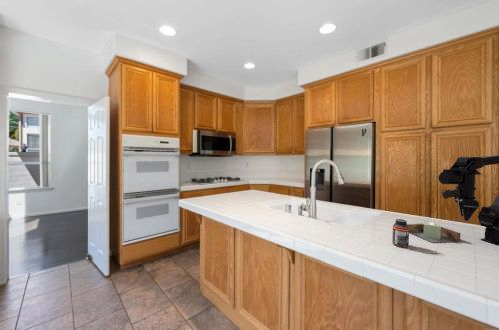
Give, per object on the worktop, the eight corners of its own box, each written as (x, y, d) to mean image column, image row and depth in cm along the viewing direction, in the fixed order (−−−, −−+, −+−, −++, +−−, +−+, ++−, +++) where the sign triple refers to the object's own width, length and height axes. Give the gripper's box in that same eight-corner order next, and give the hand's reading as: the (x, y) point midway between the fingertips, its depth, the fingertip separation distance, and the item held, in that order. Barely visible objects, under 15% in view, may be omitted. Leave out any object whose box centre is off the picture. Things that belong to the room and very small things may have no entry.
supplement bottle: (393, 241, 101) (393, 217, 100) (409, 245, 97) (410, 219, 97) (391, 245, 96) (392, 220, 96) (407, 249, 93) (409, 223, 92)
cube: (423, 233, 111) (424, 221, 110) (439, 235, 107) (439, 223, 107) (423, 236, 106) (424, 224, 106) (440, 239, 102) (440, 226, 102)
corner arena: (430, 230, 116) (430, 223, 115) (460, 241, 101) (460, 233, 101) (405, 231, 114) (405, 224, 114) (432, 243, 99) (432, 234, 99)
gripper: (441, 181, 112) (439, 211, 113) (444, 185, 97) (442, 219, 98) (471, 182, 105) (470, 215, 106) (480, 187, 90) (478, 224, 91)
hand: (464, 218), depth 100 cm, fingers open, 9 cm apart
